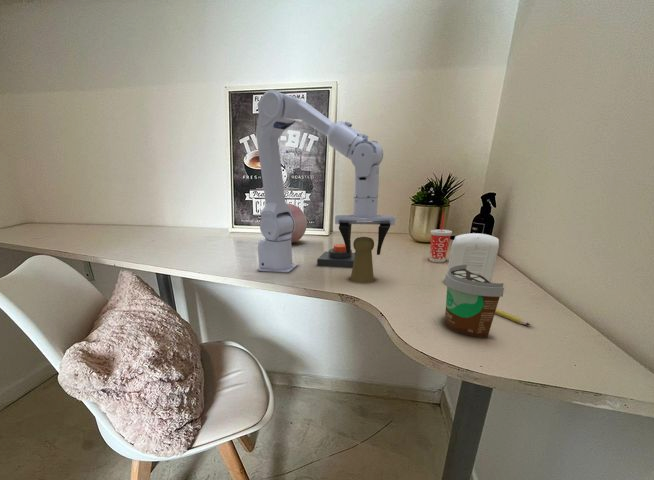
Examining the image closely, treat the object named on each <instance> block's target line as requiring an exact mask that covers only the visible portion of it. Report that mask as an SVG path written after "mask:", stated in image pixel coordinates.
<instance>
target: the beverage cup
mask: <svg viewBox="0 0 654 480" xmlns="http://www.w3.org/2000/svg"><path fill="white" fill-rule="evenodd" d="M444 222H445V213H442V216H441V223H440V229H431V230H430V244H429V245H430V247H429V261H430V262H432V263H444V262H446V259H447V254H448V251H449V246H450V240H451V237H452V236H451V235H452V234H453V231H452V230H450V229H444Z"/></svg>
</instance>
